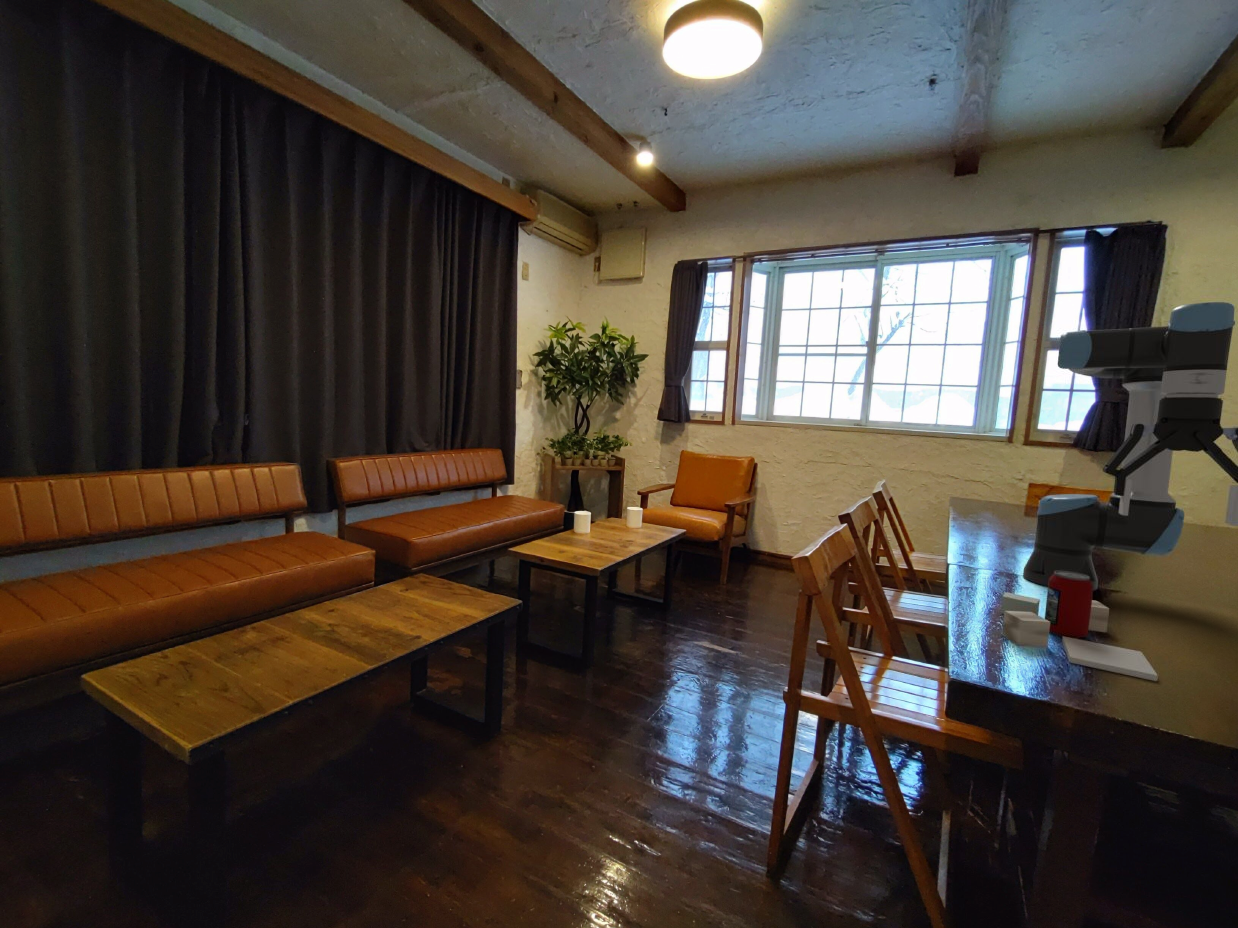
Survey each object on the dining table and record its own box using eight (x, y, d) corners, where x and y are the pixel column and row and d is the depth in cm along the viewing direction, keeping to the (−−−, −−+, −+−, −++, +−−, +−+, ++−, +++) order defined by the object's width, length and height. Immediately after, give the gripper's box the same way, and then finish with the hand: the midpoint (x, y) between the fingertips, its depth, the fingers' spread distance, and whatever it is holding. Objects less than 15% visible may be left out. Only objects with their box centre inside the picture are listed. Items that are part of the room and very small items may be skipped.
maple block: (1002, 635, 105) (1004, 610, 105) (1028, 636, 105) (1031, 611, 104) (1019, 646, 100) (1021, 620, 100) (1047, 647, 100) (1050, 621, 100)
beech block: (1064, 620, 115) (1067, 597, 114) (1093, 623, 113) (1096, 600, 113) (1076, 628, 110) (1078, 605, 109) (1106, 632, 108) (1109, 608, 108)
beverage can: (1046, 624, 112) (1052, 567, 111) (1089, 634, 107) (1096, 575, 106) (1040, 632, 107) (1047, 573, 106) (1085, 643, 102) (1092, 581, 101)
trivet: (1061, 641, 103) (1062, 636, 103) (1140, 657, 97) (1141, 651, 97) (1069, 662, 94) (1070, 656, 94) (1157, 681, 88) (1157, 675, 88)
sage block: (1004, 609, 120) (1005, 592, 120) (1037, 617, 116) (1039, 599, 116) (1000, 614, 117) (1002, 596, 117) (1035, 621, 113) (1037, 603, 113)
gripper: (1099, 395, 96) (1086, 513, 98) (1314, 396, 83) (1293, 532, 85) (1091, 397, 102) (1078, 507, 104) (1289, 398, 89) (1270, 525, 91)
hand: (1175, 519), depth 95 cm, fingers open, 13 cm apart
